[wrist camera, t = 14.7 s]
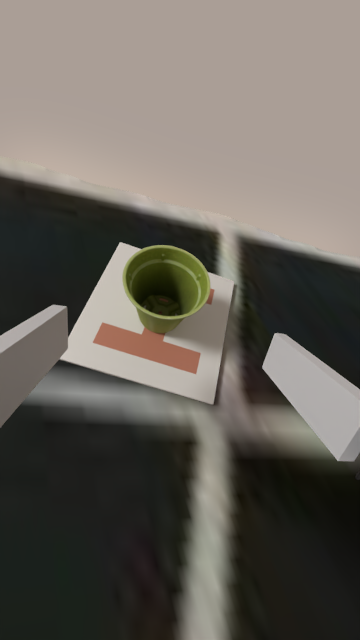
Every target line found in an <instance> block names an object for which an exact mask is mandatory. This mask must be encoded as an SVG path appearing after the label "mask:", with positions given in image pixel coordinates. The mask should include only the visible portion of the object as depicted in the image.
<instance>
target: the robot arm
mask: <svg viewBox="0 0 360 640" xmlns="http://www.w3.org/2000/svg"><path fill="white" fill-rule="evenodd" d="M67 349H68V324H67V307H66V306H58V305H52V306H50V307H48V308H47V309H45V310H43V311H42V312H40V313H38V314H36V315H35V316H33V317H31V318H30V319H28V320H26V321H25V322H23V323H21V324H19V325H18V326H16V327H14V328H13V329H11V330H9V331H8V332H6V333H4V334H3V335H1V336H0V427H1V426H2V425H3V424H4V423H5V421H6V420H7V419H8V418H9V417H10V416H11V414H12V413H13V412H14V411H15V410H16V409H17V407H18V406H19V405H20V404H21V403H22V402H23V400H24V399H25V398H26V397H27V396H28V395H29V393H30V392H31V391H32V390H33V389H34V388H35V386H36V385H37V384H38V383H39V382H40V381H41V380H42V378H43V377H44V376H45V375H46V374H47V373H48V371H49V370H50V369H51V368H52V367H53V366H54V364H55V363H56V362H57V361H58V360H59V359H60V357H61V356H62V355H63V354H64V353H65V352H66V350H67ZM262 368H263V369H264V370H265V372H266V373H267V374H268V375H269V377H270V378H271V379H272V380H273V382H274V383H275V384H276V385H277V386H278V388H279V389H280V390H281V391H282V393H283V394H284V395H285V396H286V398H287V399H288V400H289V401H290V403H291V404H292V405H293V406H294V407H295V409H296V410H297V411H298V412H299V414H300V415H301V416H302V417H303V419H304V420H305V421H306V422H307V423H308V425H309V426H310V427H311V428H312V430H313V431H314V432H315V433H316V435H317V436H318V437H319V438H320V440H321V441H322V442H323V443H324V444H325V446H326V447H327V448H328V449H329V451H330V452H331V453H332V454H333V456H334V457H335V458H336V459H337V460H338V461H354V460H355V459H356V457H357V456H358V454H359V453H360V389H358V388H357V387H356V386H354V385H353V384H352V383H350V382H349V381H348V380H346V379H345V378H344V377H342V376H341V375H339V374H338V373H337V372H335V371H334V370H333V369H331V368H330V367H329V366H327V365H326V364H325V363H323V362H322V361H321V360H319V359H318V358H317V357H315V356H314V355H312V354H311V353H310V352H308V351H307V350H306V349H304V348H303V347H302V346H300V345H299V344H298V343H296V342H295V341H294V340H292V339H291V338H290V337H288V336H287V335H285V334H279V333H275V334H274V337H273V339H272V342H271V345H270V348H269V350H268V353H267V356H266V358H265V361H264V364H263V367H262ZM355 479H357V480H359V479H360V470H359V471H358V472H357V474H356V477H355Z"/></svg>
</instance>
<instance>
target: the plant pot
mask: <svg viewBox="0 0 360 640" xmlns="http://www.w3.org/2000/svg"><path fill="white" fill-rule="evenodd" d="M122 281H123V287H124V290H125V293H126V295H127V297H128V298H129V300H130V301H131V303H132V304H133V305H134V306H135V307H136V310H137V313H138V316H139V319H140V321H141V323H142V324H143V326H144V327H145V328H147V329H148V330H150V331H152V332H155V333H167V332H169V331H171V330H173V329H175V328H176V327H177V326H178V325H179V324H180V322H181V321H182V320H183V319H184V318H187V317H189V316H191V315H193V314H195V313H196V312H198V311H199V310H200V309H201V308H202V307H203V306H204V305H205V303H206V301H207V299H208V297H209V294H210V278H209V275H208V273H207V271H206V269H205V267H204V266H203V264H202V263H201V262H200V261H199V260H198V259H197V258H196V257H194V256H193V255H192V254H190V253H188V252H187V251H185V250H182V249H179V248H177V247H173V246H166V245H158V246H151V247H147V248H144V249H142V250H140V251H138V252H136V253H135V254H134V255H133V256H131V258H130V259H129V260H128V261H127V263H126V265H125V267H124V270H123V274H122ZM160 298H163V299H166V300H168V302H165V301H162V300H159V299H160ZM145 305H146V308H145V309H144V308H143V307H144V306H145ZM159 311H161V312H162V314H159ZM175 314H177V316H175Z"/></svg>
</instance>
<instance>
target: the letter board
mask: <svg viewBox="0 0 360 640" xmlns="http://www.w3.org/2000/svg"><path fill="white" fill-rule="evenodd" d="M140 250H142V249H139V248H136V247H133V246H130V245H127V244H124V243H121V242H120V243H119V245H118V247H117V249H116V251H115V253H114V254H113V256H112V258H111V260H110V262H109V264H108V266H107V267H106V269H105V271H104V273H103V275H102V277H101V278H100V280H99V282H98V284H97V286H96V288H95V289H94V291H93V293H92V295H91V297H90V299H89V301H88V302H87V304H86V306H85V308H84V310H83V312H82V313H81V315H80V317H79V319H78V321H77V323H76V324H75V326H74V328H73V330H72V332H71V334H70V336H69V337H68V349H67V350H66V352H65V353H64V354H63V355H62V356H61V357H60V359H59V360H62V361H65V362H69V363H72V364H76V365H79V366H82V367H86V368H89V369H92V370H96V371H99V372H103V373H106V374H109V375H113V376H116V377H119V378H123V379H126V380H130V381H133V382H136V383H140V384H143V385H146V386H150V387H153V388H156V389H160V390H163V391H167V392H170V393H173V394H177V395H180V396H183V397H187V398H190V399H194V400H197V401H200V402H204V403H207V404H210V405H213V404H214V398H215V392H216V386H217V380H218V374H219V368H220V362H221V356H222V350H223V344H224V339H225V333H226V327H227V321H228V315H229V309H230V303H231V297H232V291H233V285H234V281H232V280H229V279H226V278H223V277H221V276H218V275H215V274H212V273H209V272H207V273H208V275H209V278H210V294H209V297H208V299H207V301H206V303H205V305H204V306H203V307H202V308H201V309H200V310H199V311H198V312H196V313H195V314H193V315H191V316H189V317H187V318H184V319H183V320H182V321H181V322H180V324H179V325H178V326H177V327H176V328H175V329H173V330H171V331H169V332H167V333H155V332H152V331H150V330H148V329H147V328H145V327H144V326H143V324H142V323H141V321H140V319H139V316H138V313H137V310H136V307H135V306H134V305H133V304H132V303H131V301H130V300H129V298H128V297H127V295H126V293H125V290H124V287H123V281H122V274H123V270H124V267H125V265H126V263H127V261H128V260H129V259H130V258H131V256H133V255H134V254H135V253H136V252H138V251H140ZM159 300H162V301H165V302H168V300H166V299H163V298H160V299H159ZM143 308H144V309H145V308H146V305H145V306H144V307H143ZM159 314H162V312H161V311H159ZM175 316H177V314H175Z"/></svg>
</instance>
